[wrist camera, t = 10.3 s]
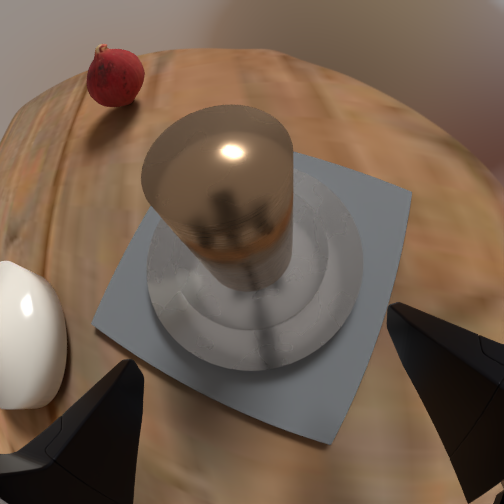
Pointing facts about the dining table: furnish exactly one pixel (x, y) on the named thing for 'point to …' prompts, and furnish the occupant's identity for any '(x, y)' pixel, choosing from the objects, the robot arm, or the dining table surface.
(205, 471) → the dining table surface
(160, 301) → the cylinder on round base
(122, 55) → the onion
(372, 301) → the mat
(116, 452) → the robot arm
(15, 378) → the white rounded piece
